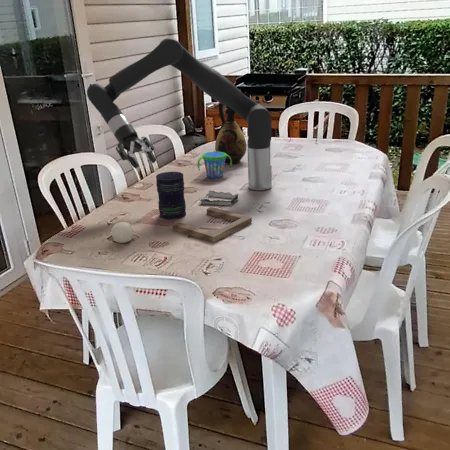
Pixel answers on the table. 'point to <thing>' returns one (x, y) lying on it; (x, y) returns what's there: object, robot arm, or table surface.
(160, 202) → the dark blue ridged cylinder
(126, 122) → the robot arm
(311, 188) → the table surface
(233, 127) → the ceramic jug
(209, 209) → the walnut bay
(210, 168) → the snack cup
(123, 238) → the white egg
